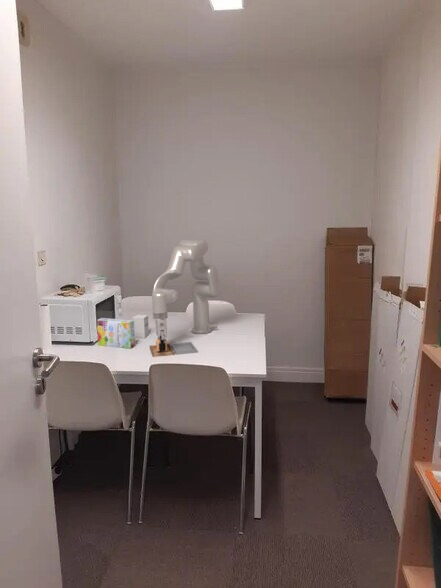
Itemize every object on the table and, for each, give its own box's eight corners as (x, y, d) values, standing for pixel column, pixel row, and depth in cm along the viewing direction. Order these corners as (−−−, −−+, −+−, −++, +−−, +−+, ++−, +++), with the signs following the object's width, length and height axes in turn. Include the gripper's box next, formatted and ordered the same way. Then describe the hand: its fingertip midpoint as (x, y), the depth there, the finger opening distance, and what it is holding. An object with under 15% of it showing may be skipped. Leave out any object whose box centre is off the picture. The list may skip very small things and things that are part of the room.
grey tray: (191, 346, 248) (191, 341, 248) (196, 354, 235) (196, 349, 235) (171, 348, 246) (171, 343, 245) (176, 356, 232) (175, 351, 232)
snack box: (135, 346, 250) (134, 319, 247) (130, 349, 245) (129, 322, 242) (103, 342, 257) (101, 317, 254) (97, 345, 252) (95, 319, 249)
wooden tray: (169, 348, 245) (169, 343, 245) (174, 356, 232) (174, 351, 232) (149, 350, 243) (149, 345, 242) (152, 358, 229) (152, 353, 229)
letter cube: (165, 347, 240) (165, 338, 239) (167, 350, 235) (166, 341, 234) (156, 348, 239) (155, 339, 238) (157, 351, 234) (157, 341, 233)
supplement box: (144, 338, 264) (143, 317, 261) (133, 338, 265) (132, 317, 263) (149, 335, 271) (148, 314, 268) (137, 334, 272) (136, 314, 270)
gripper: (169, 318, 226) (171, 353, 230) (165, 311, 242) (166, 343, 246) (155, 319, 224) (156, 354, 228) (151, 312, 240) (152, 344, 244)
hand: (161, 348), depth 237 cm, fingers closed on letter cube, 4 cm apart
